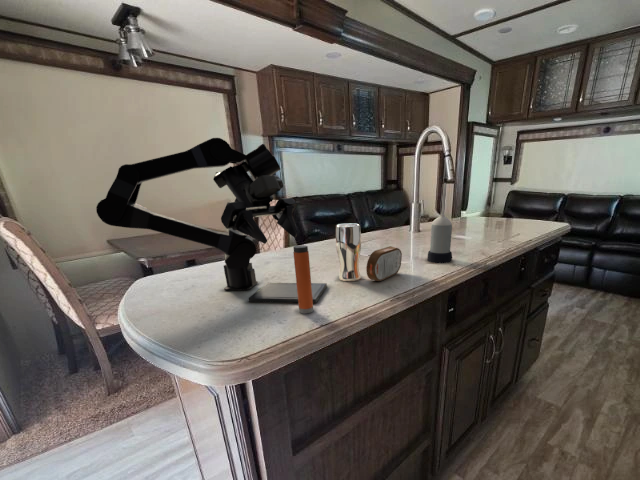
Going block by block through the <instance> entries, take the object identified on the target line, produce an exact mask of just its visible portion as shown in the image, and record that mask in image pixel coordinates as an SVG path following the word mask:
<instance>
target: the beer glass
mask: <svg viewBox="0 0 640 480" xmlns="http://www.w3.org/2000/svg"><path fill="white" fill-rule="evenodd" d="M361 231H362V230H361V224H360V223H350V222H349V223H348V222H347V223H338V224H336V225H335V246H336V252H337V257H338V262H339V276H338V278H339V280H340V281H343V282H356V281H359V280H360V279H361V273H360V272H361V271H360V257H361V249H362V232H361Z"/></svg>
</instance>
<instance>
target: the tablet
mask: <svg viewBox="0 0 640 480" xmlns="http://www.w3.org/2000/svg"><path fill="white" fill-rule="evenodd" d="M327 286H328V284H327V283H325V282H324V283H323V282H319V283H318V282H311V287H312V299H313V304H317V302H318V301H319V299H320V298H321V296H322V295H323V294H324V292H325V290H326V289H327V288H328V287H327ZM248 303H271V304H272V303H274V304H275V303H276V304H279V303H280V304H281V303H282V304H299V303H298V293H297V283H296V282H267V283H265V284H264V285H263V286H261V287H260V288H259V289H258V290H257V291H256V292H254V293H253V294H252V295H250V296H249V297H248Z"/></svg>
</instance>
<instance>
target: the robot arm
mask: <svg viewBox="0 0 640 480" xmlns="http://www.w3.org/2000/svg"><path fill="white" fill-rule="evenodd" d="M229 164H234V165H233V166H232V165H230V166H228V165H229ZM235 164H236V165H235ZM226 166H228V167H227V168H225V169H223V170H221V171H216V172H215V174H214V177H213V182H214V183H215V184H216V185H217V187H218V188H219V189H222V188H224V187H226V186H227V188H228V189H229V190H230V192H231V193H232V194H233V196H234V197H235V199H234V201H227V203H226V205H225V207H224V210H223V212H222V215H221V216H220V221H221V223H222V225H223V226H224V228H225V229H227V232H226V231H217V230H214V229H210V228H207V227H204V226H201V225H197V224H194V223H191V222H187V221H183V220H180V219H177V218H173V217H171V216H167V215H165V214H161V213H157V212H155V211H152V210H150V209H148V207H145V206H143V205H141V204H139V203H137V200H138V197H139V194H140V190H141V187H142V184H143V183H145V182H148V181H151V180H156V179H160V178H163V177H167V176H171V175H175V174H179V173H183V172H187V171H191V170H195V169H196V170H197V169H211V168H223V167H226ZM279 171H281V166H280V163H279V162H278V160H277V158H276V157H275V155H273V154H272V152H271V151H270V150H269V148H267V146H266V145H265V144H264V143H261V144H260V145H259V146H257V147H256V148H255V149H254V150H252V151H250V152H249V153H247V154H245V153H243V152H242V151H241V152H240V151H239V150H236V149H234V148H232V147H231V145H230V143H229V142H228V141H226V140H224V139H223V138H221V137H212V138H210V139H207V140H205V141H203V142H201V143H198V144H197V145H195V146H193V147H190V148H189V149H187V150H185V151H180V152H177V153H173V154H168V155H164V156H160V157H155V158H151V159H148V160H144V161H140V162H136V163H130V164H127V163H126V164H122V165H120V167H119V168H118V170H117V174H116V177H115V178H114V180H113V181H112V184H111V185H110V187H109V189H108V191H107V193H106V196H105V198H103V199H101V200H99V202H98V203H97V204H96V208H95V210H96V214H97V217H98V218H99V219H100V220H101V222H102V223H104V224H106V225H108V226H112V227H118V228H125V229H138V230H139V229H140V230H150V231H153V232H157V233H161V234H164V235H168V236H172V237H175V238H179V239H182V240H186V241H190V242H194V243H197V244H200V245H205V246H208V247H211V248H215V249H217V250H219V251H221V252H222V253H224V254H223V257H224V263H225V264H223V272H224V277H225V282H226V286H225V287H223V289H224V291H249V290H251V289H252V288H253V287H255V286H256V285H257V284H258V281H257V277H256V270H255V268H253V263H252V262H251V259H252V258H254V257H255V254H256V253H257V246H256V244H255V243H254V241H253V239H254V240H256V241H258V242H261V243H262V244H267V243H268V239H267V237H266V235H265V233H264V232H263V231H262V230H261V228H260V227H259V225H258V224H257V222H256V221H255V219H254V218H259V217H267V216H268V217H269V216H272V218H273V219H274V220H275V221H277V222H276V223H277V225H279V226H280V227H281V228H282V229H283V230H284V231H285V232H287V233H288V234H289V235H290V236H291V237H293V238H297V236H298V232H297V229H296V226H295V223H294V218H293V213H294V211H295V209H296V207H297V206H298V204H297V202H296V201H295V199H294V198H293V197H284V198H278V200H277V201H276V203H275V205H271V203H272V202H273V200H274V197H273V195H275V194H276V193H277V192H280V191H281V190H282V189H283V188H284V183H283V180H282V178H281V177H280V176H279V175H277V174H276V173H278V172H279ZM249 174H250V175H251V176H250V175H249ZM251 177H252V178H251ZM253 179H254V180H253Z"/></svg>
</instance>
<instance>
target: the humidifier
mask: <svg viewBox="0 0 640 480" xmlns="http://www.w3.org/2000/svg"><path fill="white" fill-rule="evenodd" d="M446 194H447V182H444V183H443V188H442V196H441V198H440V200H441V208H440V210H439V211H440V213H439V216H438V217H436V218H435V219H434V220H433V221H432V223H431V227H430V244H429V245H430V246H429V251H428V252H427V262H429V263H433V264H449V263H452V259H453V253H452V251H451V245H452V232H453V225H452V224H453V223H452V221H451V220H450V219H449V218H448V217H446V216H445V210H446V201H445V200H446Z"/></svg>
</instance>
